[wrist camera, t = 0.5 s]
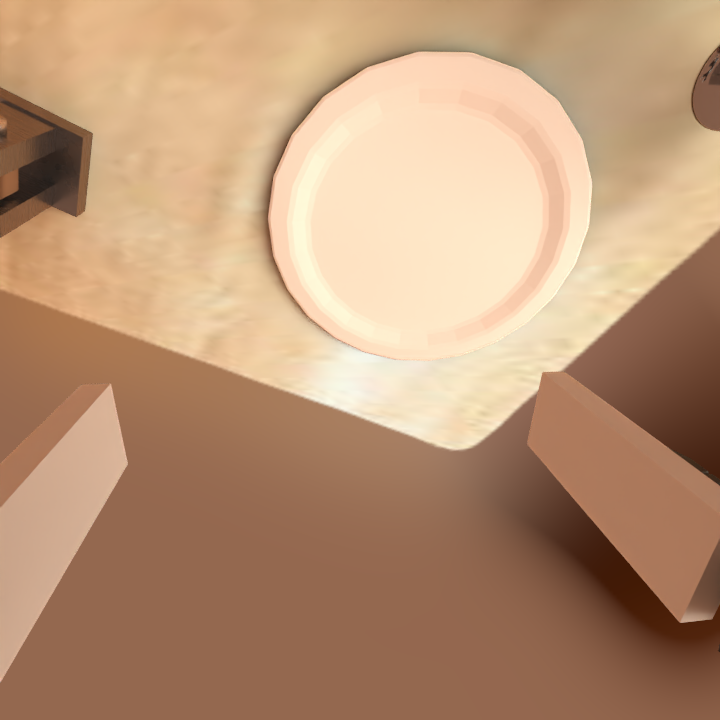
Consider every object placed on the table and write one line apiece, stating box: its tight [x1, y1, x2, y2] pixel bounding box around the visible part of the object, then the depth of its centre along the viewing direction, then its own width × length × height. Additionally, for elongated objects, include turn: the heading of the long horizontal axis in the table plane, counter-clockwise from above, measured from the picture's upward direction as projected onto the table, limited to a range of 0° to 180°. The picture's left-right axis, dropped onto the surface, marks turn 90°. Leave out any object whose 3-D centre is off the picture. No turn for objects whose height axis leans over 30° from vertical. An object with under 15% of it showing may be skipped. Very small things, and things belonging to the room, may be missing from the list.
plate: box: [268, 52, 592, 361], centre depth 41 cm, size 29×29×2 cm
